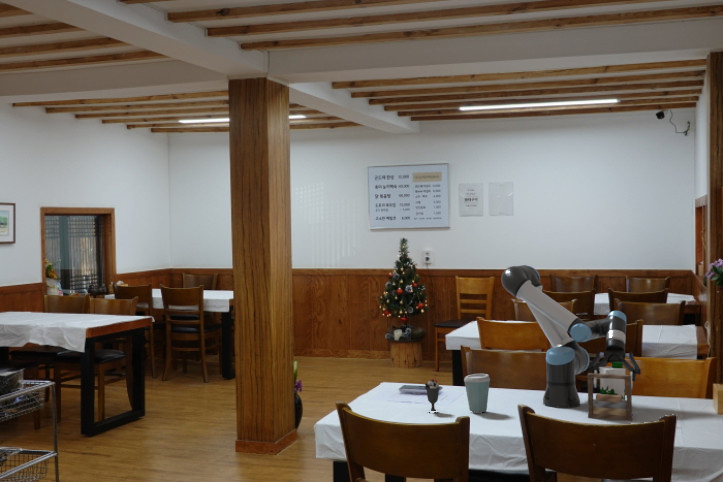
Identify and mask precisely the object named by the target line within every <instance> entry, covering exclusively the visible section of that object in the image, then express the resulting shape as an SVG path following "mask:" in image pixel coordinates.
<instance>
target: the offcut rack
mask: <svg viewBox="0 0 723 482" xmlns="http://www.w3.org/2000/svg"><path fill="white" fill-rule="evenodd" d="M593 378H597V379H600V378H609V379H625V391H626V399H625V400H622V395H609V394H600V393H597V394H596V395H595V404H594V379H593ZM632 401H633V398H632V389H631V375H630V374H625V375H617V374H600V373H597V374H595V373H592V372H588V373H587V402H588V403H587V405H588V406H587V407H588V414H587V419H601V420H614V421H615V420H616V421H627V422H628V421H629V422H630V421H631V422H633V419H634V413H633V406H632V405H633V402H632Z"/></svg>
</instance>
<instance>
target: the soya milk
mask: <svg viewBox="0 0 723 482" xmlns="http://www.w3.org/2000/svg"><path fill="white" fill-rule="evenodd" d="M626 370H627V368H626V367H623V365H622V362H612V363H611V365H609V366H607V365H605V366H603V367H599V371H598V372H599V374H617V375H626ZM599 384H600V385H599V391H600V393H599V394H609V395H622V400H626V379H609V378H599Z"/></svg>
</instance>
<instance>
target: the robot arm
mask: <svg viewBox="0 0 723 482" xmlns="http://www.w3.org/2000/svg"><path fill="white" fill-rule="evenodd" d="M500 281H501V285H502V287H503V288H504V290H506V291H507V293H509V294H511V295H512V296H513V297H514V298H516V299H518V300H521V301H524V302H525V303H526V305H527V307H528V309H529V310H530V312H531V314H532V315H533V316H534V319H535V320H536V322H537V323H538V325H539V327H540V329H541V330H542V331H543V333H544V335H545V337H546V338H547V340H548V341H549V343H550V345H551V346H552V348H549V349H548V350H547V351H546V354H545V363H546V364H545V366H546V367H545V369H546V387H545V391H544V393H543V398H542V405H544V404H545V405H544V406H546V405H548V406H547V407H551V406H552V407H554V408H574V407H575V408H576V407H579V406H580V405H581V399H580V396H579V393H578V392H579V391H578V389H577V388H576V375H580V374H582V373H584V371H586V370H587V372H588V373H595V374H598V372H600V371H599V367H605V366H607V365H608V364H612V362H622V366H624V368H625V369H626V370H627V371H628V372H630V373H629V375H631V390H633V382H636V380H637V379H636V378H637V375H641V373H642V372H641V367H640V366H639V365H638V364H639V363H637V361H636V359H635V358H634V355H633V352H632V351H630V352H629V353H626V338H627V337H626V336H627V335H626V332H627V325H628V323H627V315H626V314H625V313H624V312H622V311H620V310H613V311H610V312H609V313H608V315H607V317H605V318H602V319H601V318H600V319H595V320H591V321H583V320H582V319H581V318H580V317H578V316H576V315H575V314H574V313H573V312H572V311H569V310H568V309H567V308H566V307H564V306H562V304H560V303H559V302H557V301H556V300H554V298H551V297H550V296H549V295H547V294H546V293H545V292H543V287H544V286H543V285H542V283H541V275H540V273H539V271H538V270H537V269H536V268H535V267H533V266H530V265H526V264H525V265H513V266H512V265H511V266H509V267H507V268H505V269H504V271H503V272H502V273H501V277H500ZM568 333H569V334H570V335H569V334H568ZM604 337H605V339H606V340H605V350H604V352H601V351H600V350H597V351H596V355H595V356H594V357H593V359H592V360H591V361H590V355H589V353H588V351H587V350H586V349H584V348H583V347H582V346H580V345H579V343H586V342H588V341H591V340H595V339H600V338H604ZM626 358H627V359H628V360H629V361H630V363H631V364H630V363H629V362H628V361H627V360H626ZM601 359H602V360H601ZM600 360H601V361H600ZM597 384H598V378H593V388H597Z"/></svg>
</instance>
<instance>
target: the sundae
mask: <svg viewBox="0 0 723 482" xmlns="http://www.w3.org/2000/svg"><path fill="white" fill-rule="evenodd" d="M436 377H437V374H434V377H433V378H431V379H430V380H428V382H426V383H424V385H425V386H424V389H425V390H426V397H427V401H428V402H429V403H430V404H431V408H430V410H431V411H436V408H435V404H436V403H437V402H438V401H439V400H438V399H439V393H440V389H441V386H440V385H439V383H438V380H437V378H436Z"/></svg>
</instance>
